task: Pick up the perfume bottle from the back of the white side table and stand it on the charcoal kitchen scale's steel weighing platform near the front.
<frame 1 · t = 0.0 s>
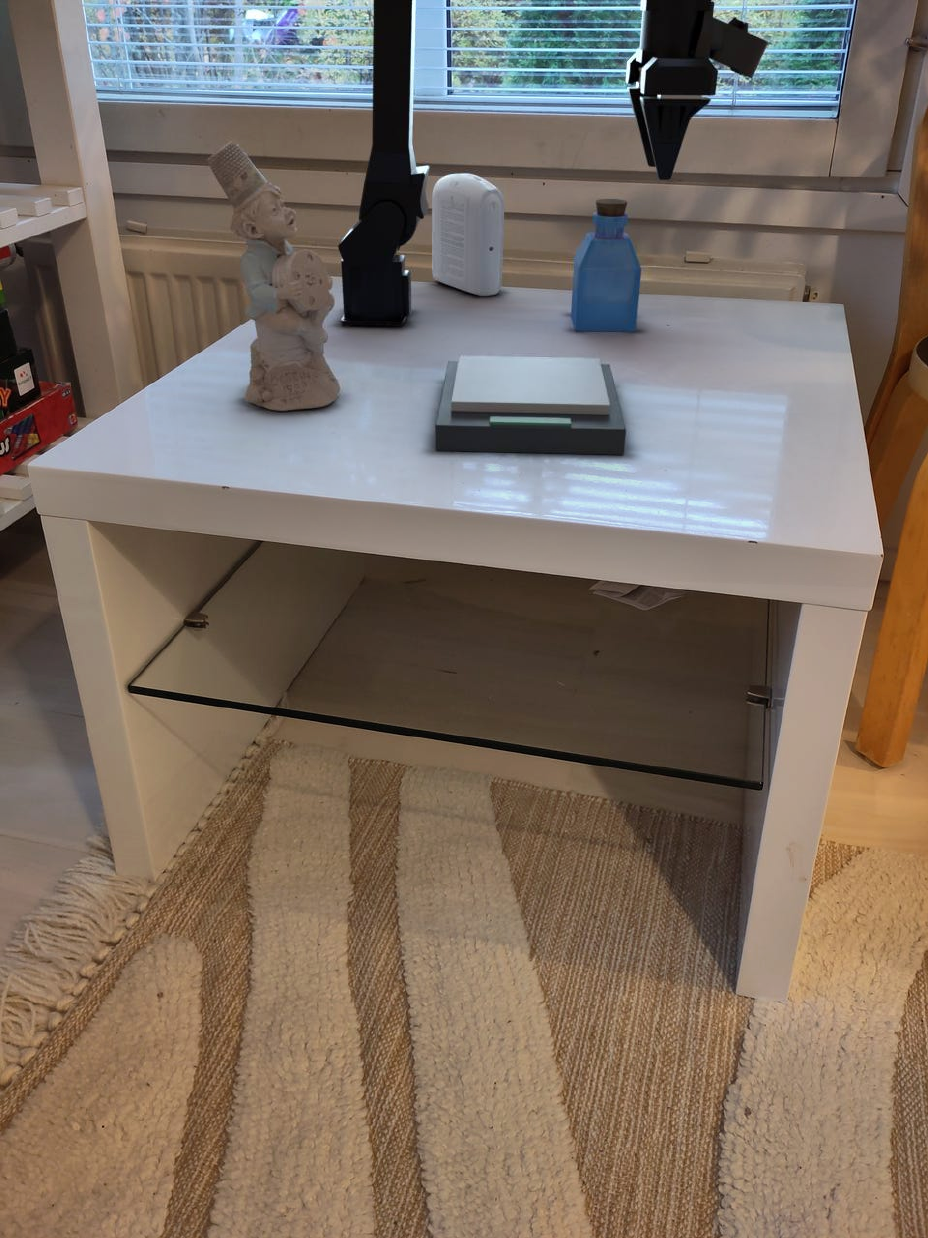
hand: (658, 172, 99), 15 cm above the table, tool pointing down, fingers open, 9 cm apart
scale: (528, 415, 82), on the table
photo printer: (466, 288, 120), on the table
figurine: (291, 400, 86), on the table
perfume bottle: (602, 324, 107), on the table
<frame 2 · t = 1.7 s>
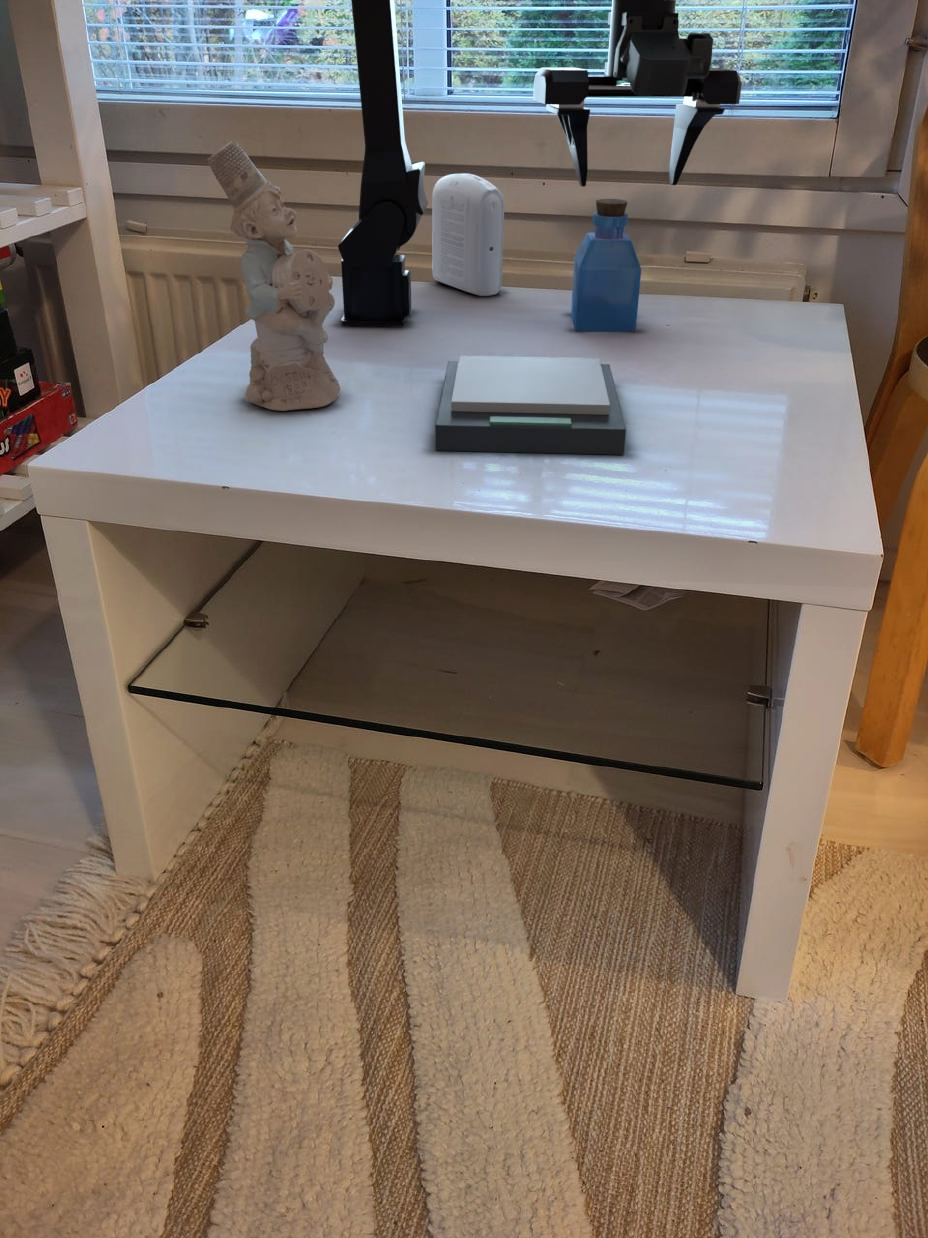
hand: (628, 185, 100), 13 cm above the table, tool pointing down, fingers open, 9 cm apart
nothing on the table moved.
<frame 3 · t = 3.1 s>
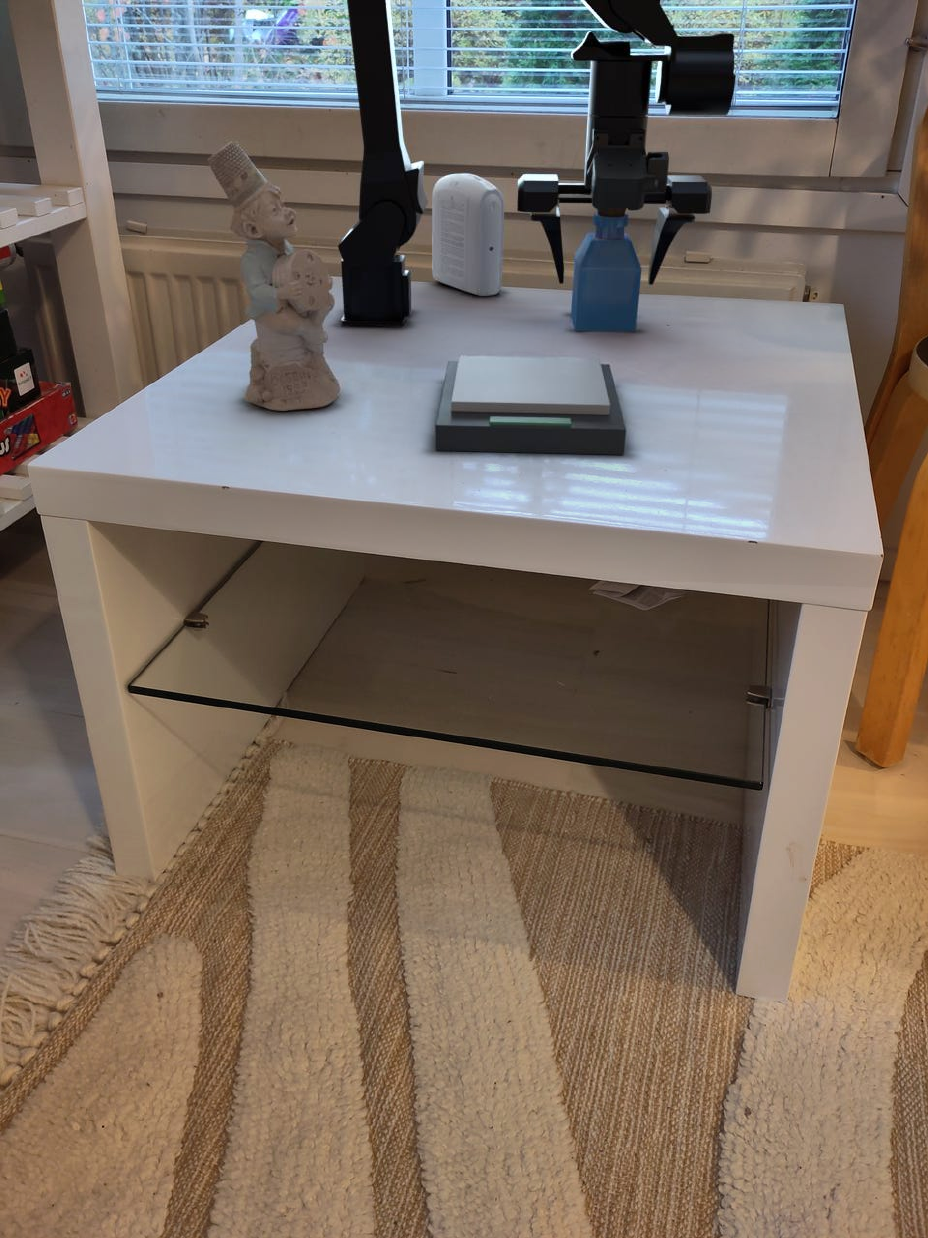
hand: (605, 283, 105), 4 cm above the table, tool pointing down
perfume bottle: (602, 325, 107), on the table, touching gripper
everything else where it was.
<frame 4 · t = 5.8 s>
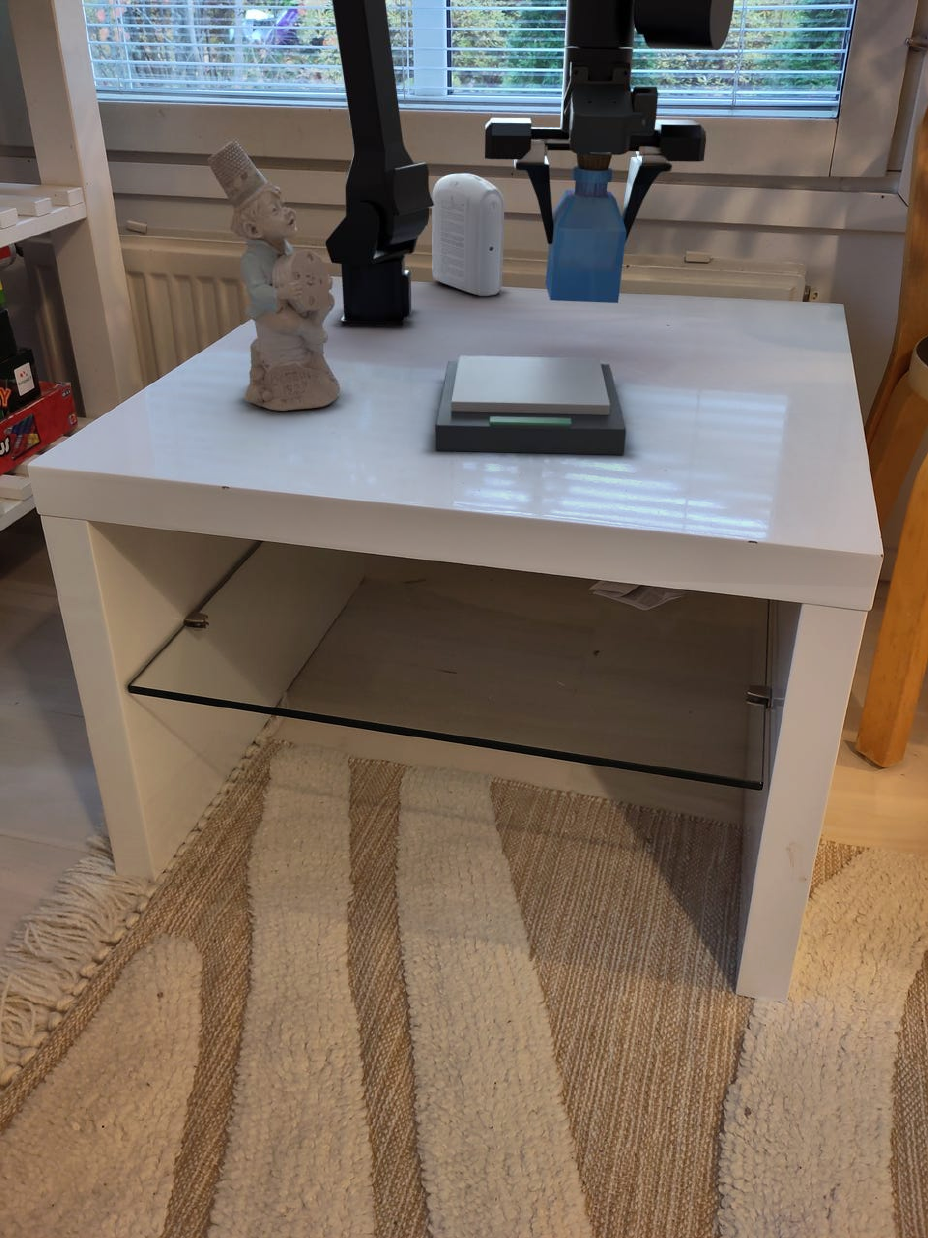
hand: (585, 243, 93), 10 cm above the table, tool pointing down, fingers closed on perfume bottle, 6 cm apart
perfume bottle: (580, 295, 95), point 5 cm above the table, touching gripper
everything else where it was.
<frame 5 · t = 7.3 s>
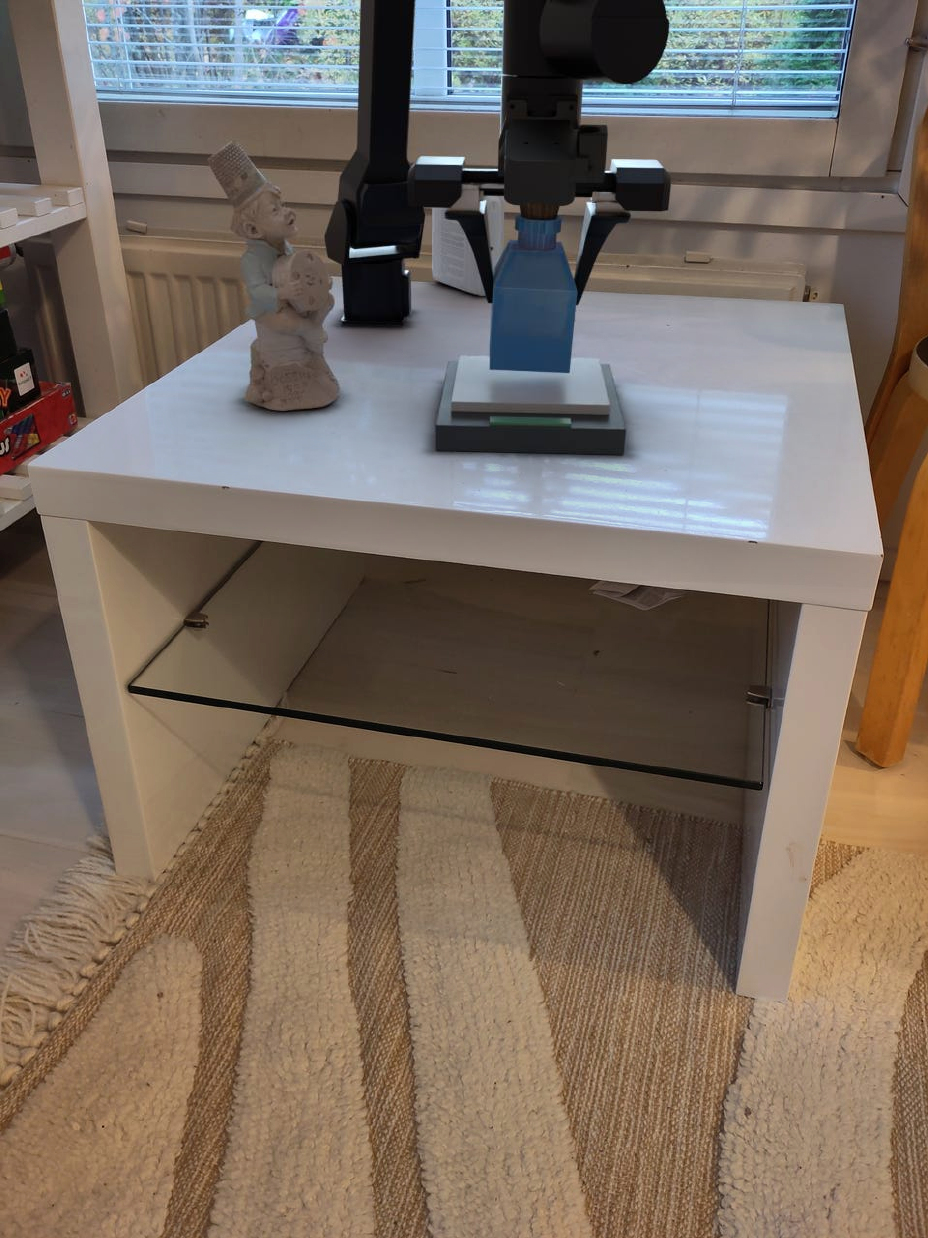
hand: (532, 303, 79), 9 cm above the table, tool pointing down, fingers closed on perfume bottle, 6 cm apart
perfume bottle: (528, 361, 81), point 4 cm above the table, touching gripper
everything else where it was.
when the fingers open (7 cm above the table, at t = 8.1 s): perfume bottle stays where it is, resting on scale.
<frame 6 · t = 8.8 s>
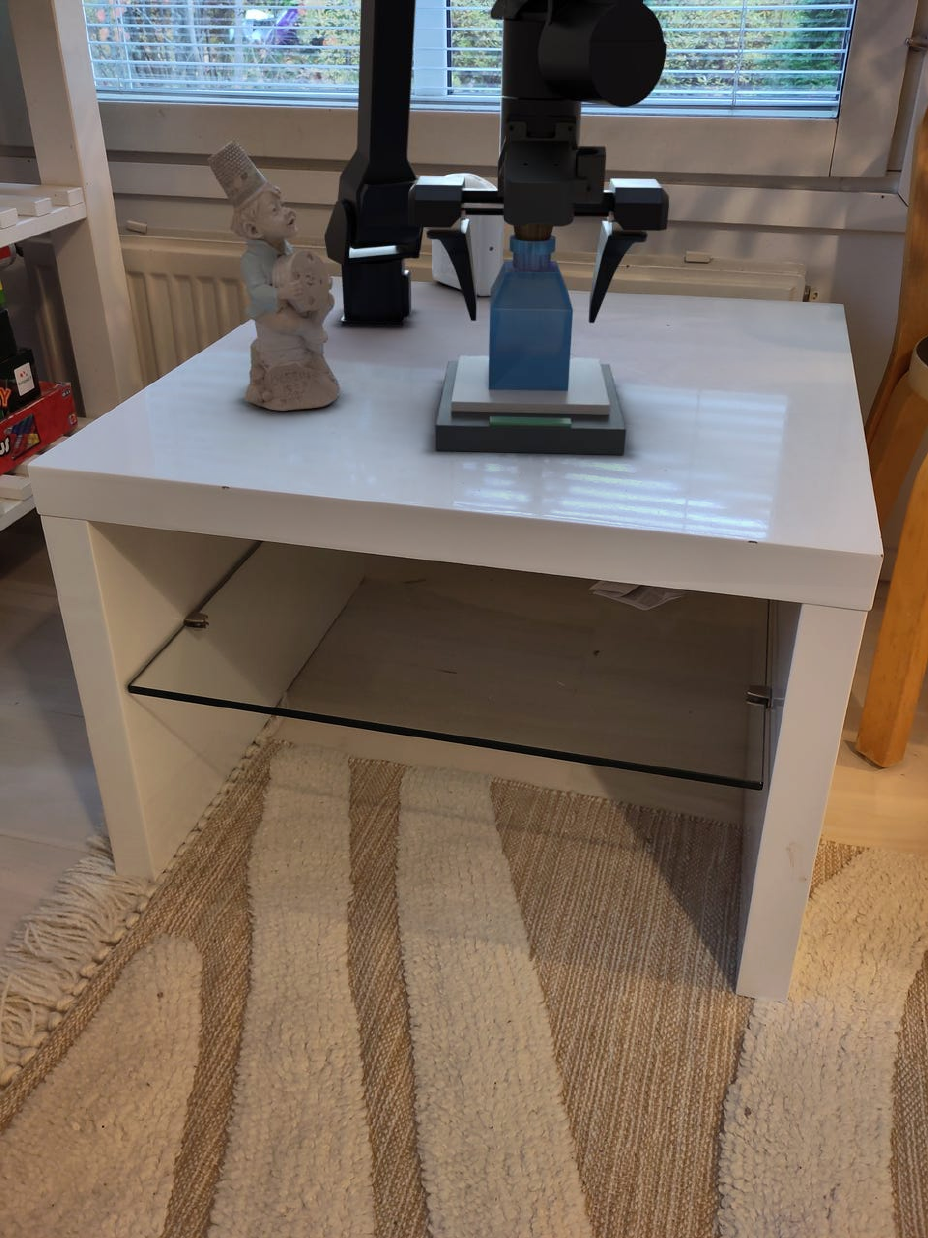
hand: (532, 320, 79), 7 cm above the table, tool pointing down, fingers open, 9 cm apart
perfume bottle: (527, 380, 82), point 3 cm above the table, touching scale
everything else where it was.
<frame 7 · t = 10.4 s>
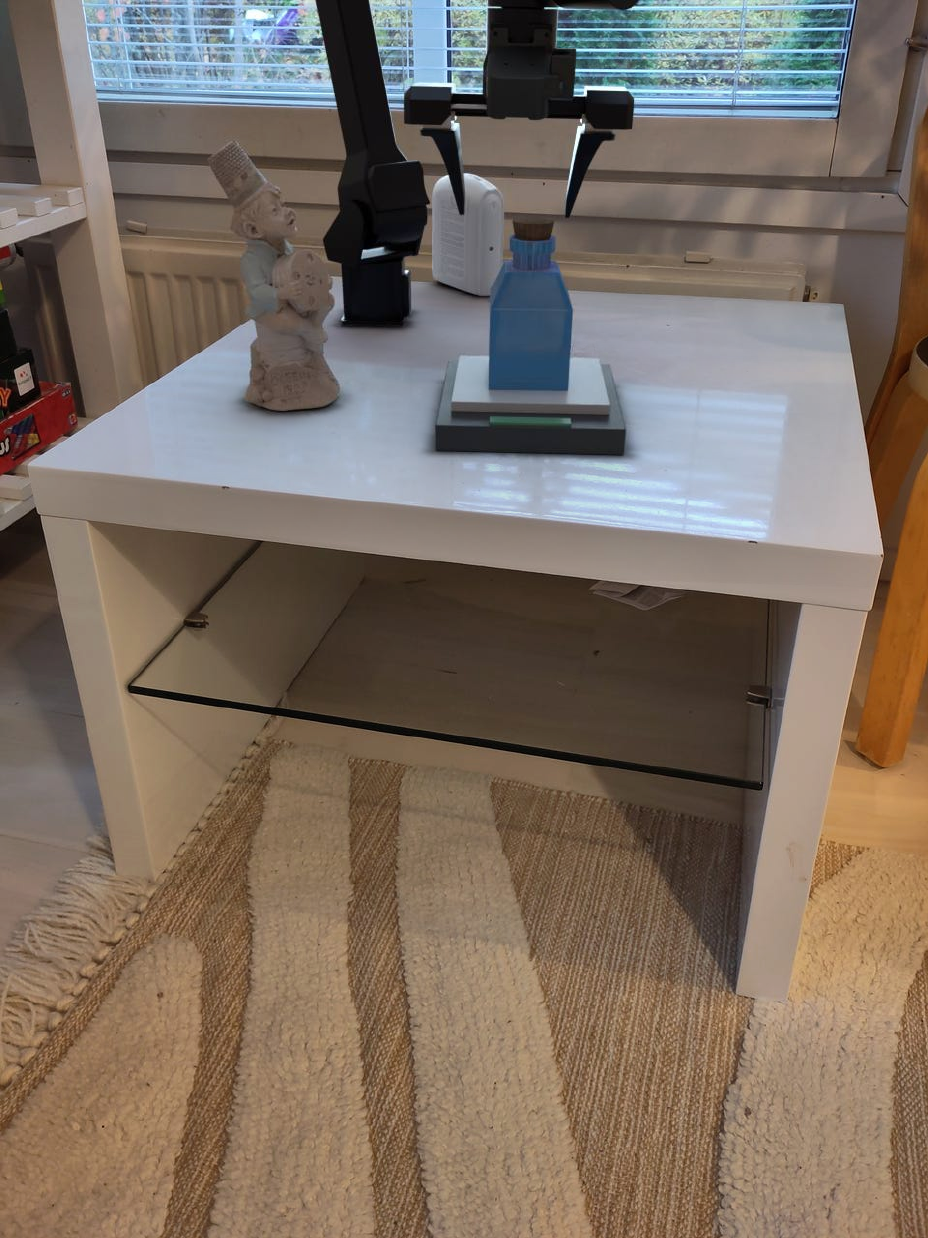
hand: (514, 215, 89), 13 cm above the table, tool pointing down, fingers open, 9 cm apart
nothing on the table moved.
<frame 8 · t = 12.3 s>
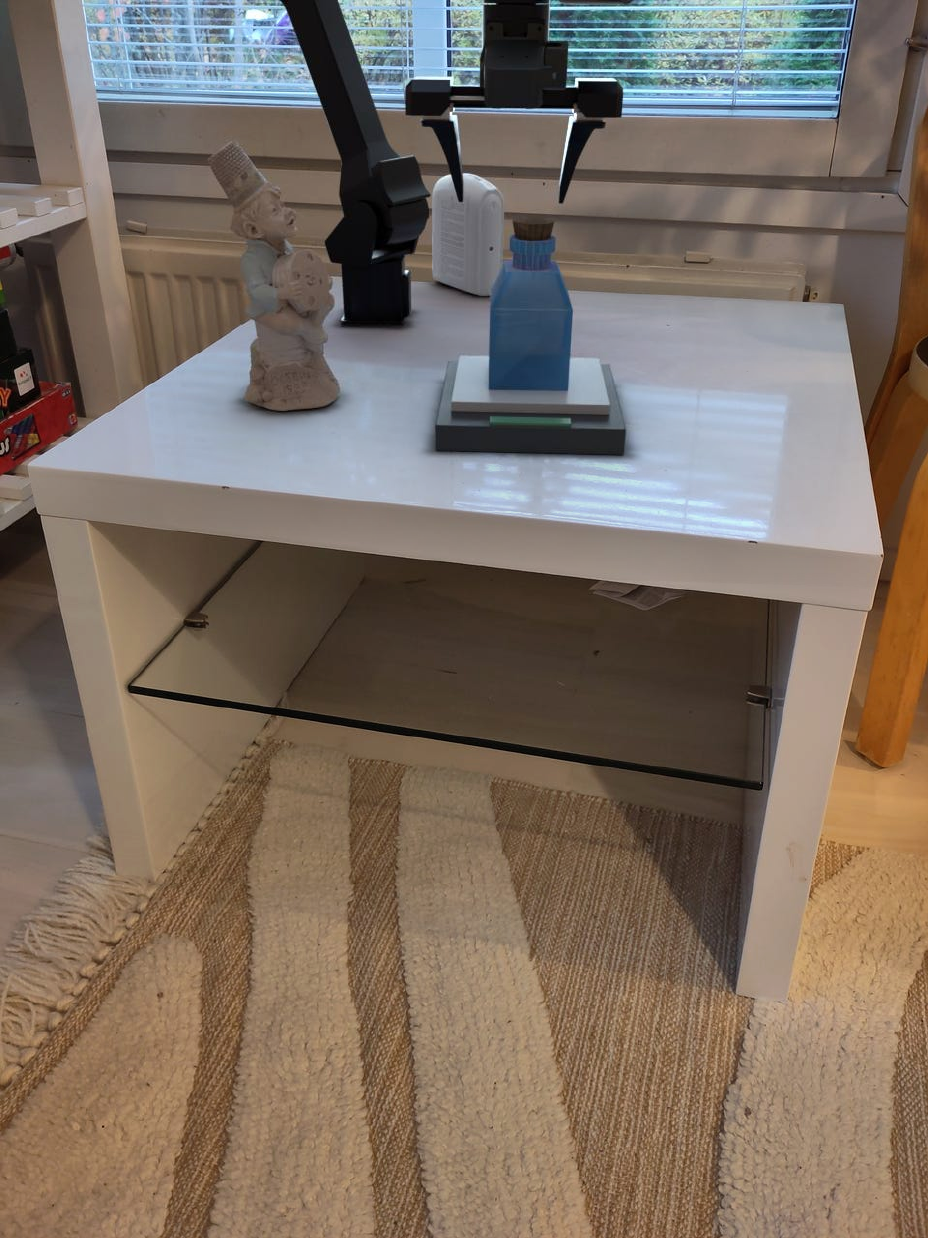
hand: (510, 202, 94), 13 cm above the table, tool pointing down, fingers open, 9 cm apart
nothing on the table moved.
at the end: perfume bottle inside the target area on the scale (0.2 cm from its centre), point 2.6 cm above the scale's base; perfume bottle tilted 0°; the gripper is holding nothing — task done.
